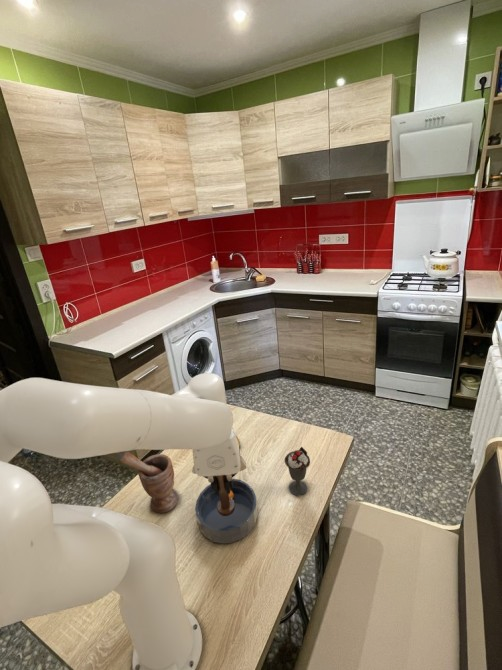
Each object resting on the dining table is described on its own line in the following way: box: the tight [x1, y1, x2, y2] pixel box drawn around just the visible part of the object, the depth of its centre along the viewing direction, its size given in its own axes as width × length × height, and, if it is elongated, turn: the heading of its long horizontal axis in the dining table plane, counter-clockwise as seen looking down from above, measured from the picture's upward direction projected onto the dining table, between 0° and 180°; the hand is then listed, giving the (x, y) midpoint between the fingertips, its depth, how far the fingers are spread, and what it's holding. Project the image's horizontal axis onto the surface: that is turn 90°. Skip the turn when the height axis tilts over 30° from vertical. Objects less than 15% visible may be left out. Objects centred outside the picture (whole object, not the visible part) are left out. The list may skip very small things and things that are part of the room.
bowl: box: [194, 477, 259, 544], centre depth 87 cm, size 15×15×5 cm
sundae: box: [284, 446, 311, 496], centre depth 91 cm, size 7×7×15 cm
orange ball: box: [229, 490, 234, 499], centre depth 92 cm, size 3×3×3 cm
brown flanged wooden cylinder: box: [216, 475, 235, 516], centre depth 82 cm, size 4×4×12 cm
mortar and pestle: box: [117, 451, 179, 514], centre depth 89 cm, size 12×9×20 cm
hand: (222, 488), depth 82 cm, fingers closed on brown flanged wooden cylinder, 2 cm apart
